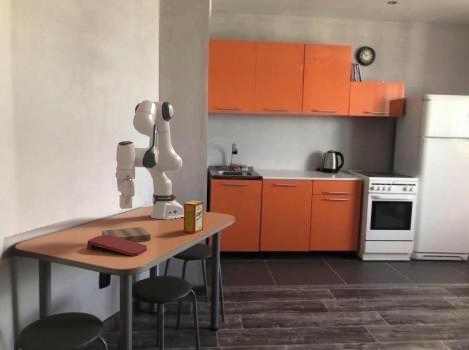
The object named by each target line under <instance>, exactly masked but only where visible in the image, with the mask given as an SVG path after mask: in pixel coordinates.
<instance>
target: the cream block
mask: <svg viewBox="0 0 469 350" xmlns="http://www.w3.org/2000/svg"><path fill="white" fill-rule="evenodd" d="M125 200H126V197H125V195H121V194H119V209H122V210H125V209H133V196H132V197H131V198H130V204H125Z"/></svg>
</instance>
